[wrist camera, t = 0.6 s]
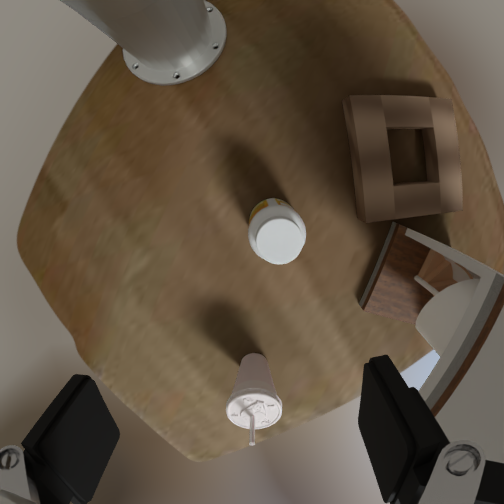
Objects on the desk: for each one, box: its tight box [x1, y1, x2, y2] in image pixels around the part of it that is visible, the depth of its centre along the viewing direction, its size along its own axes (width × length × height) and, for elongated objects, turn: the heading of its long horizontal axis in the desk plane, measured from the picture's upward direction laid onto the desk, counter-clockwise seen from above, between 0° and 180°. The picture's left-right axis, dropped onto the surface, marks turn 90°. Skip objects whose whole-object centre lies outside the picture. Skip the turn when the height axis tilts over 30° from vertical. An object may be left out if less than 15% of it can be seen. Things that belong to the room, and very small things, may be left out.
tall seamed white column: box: [359, 222, 504, 463], centre depth 19 cm, size 11×11×35 cm
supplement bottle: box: [248, 198, 306, 264], centre depth 30 cm, size 5×5×10 cm
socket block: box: [342, 95, 463, 223], centre depth 31 cm, size 14×14×3 cm
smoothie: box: [226, 353, 282, 445], centre depth 33 cm, size 6×6×14 cm
